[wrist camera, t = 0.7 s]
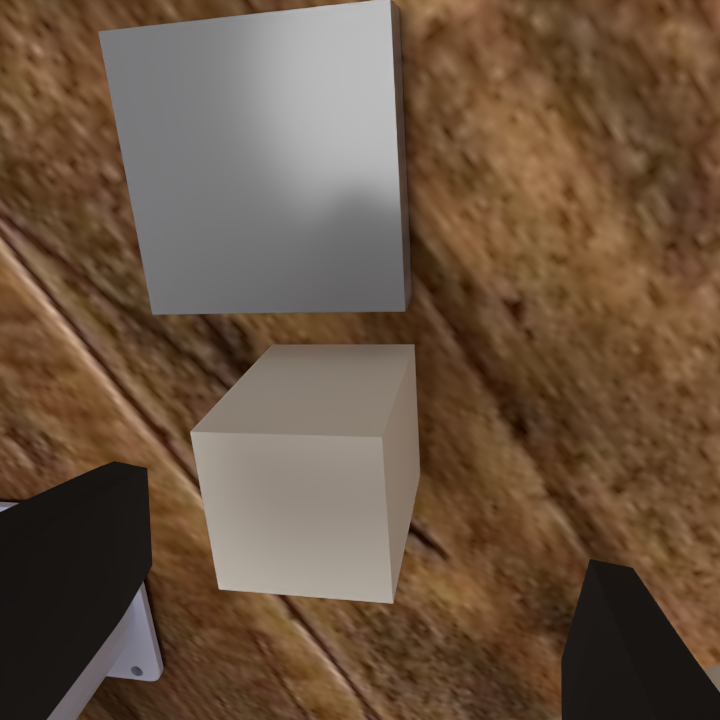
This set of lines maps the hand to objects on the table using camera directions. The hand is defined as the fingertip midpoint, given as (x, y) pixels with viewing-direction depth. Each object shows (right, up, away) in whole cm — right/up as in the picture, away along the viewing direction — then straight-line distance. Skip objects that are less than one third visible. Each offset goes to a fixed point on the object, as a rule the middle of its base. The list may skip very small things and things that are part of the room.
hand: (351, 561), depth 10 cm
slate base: (-2, +9, +8) cm, 12 cm away
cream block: (0, +2, +10) cm, 10 cm away
